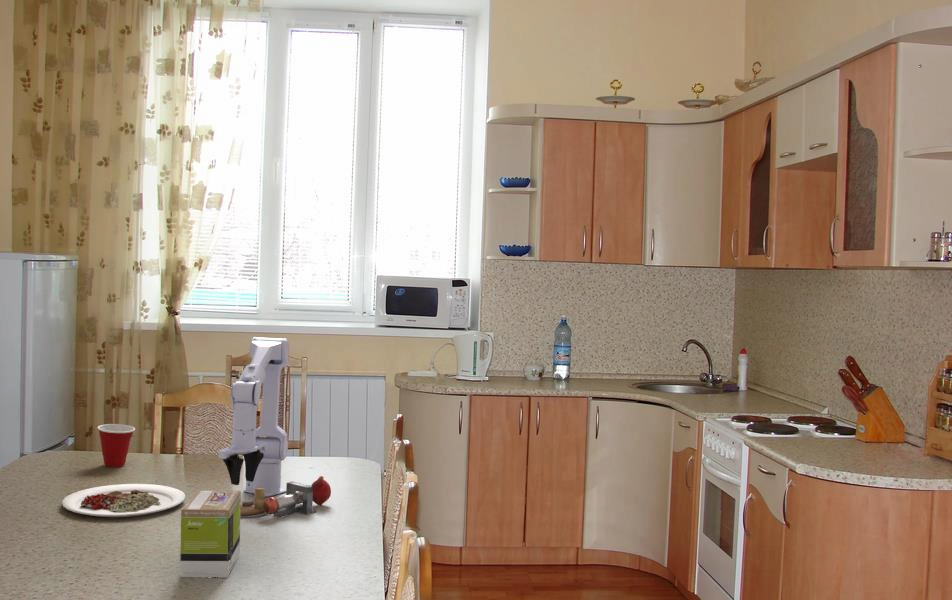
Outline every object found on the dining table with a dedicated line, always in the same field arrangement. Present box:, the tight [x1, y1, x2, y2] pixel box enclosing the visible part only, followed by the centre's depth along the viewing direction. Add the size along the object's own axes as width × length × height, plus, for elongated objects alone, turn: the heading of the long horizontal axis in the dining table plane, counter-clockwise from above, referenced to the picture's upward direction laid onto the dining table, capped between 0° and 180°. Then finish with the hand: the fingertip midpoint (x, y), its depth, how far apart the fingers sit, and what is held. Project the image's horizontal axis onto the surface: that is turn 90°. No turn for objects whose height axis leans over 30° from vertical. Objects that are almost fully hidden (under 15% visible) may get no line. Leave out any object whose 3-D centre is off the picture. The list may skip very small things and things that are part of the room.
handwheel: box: [240, 488, 265, 515], centre depth 236 cm, size 10×10×6 cm
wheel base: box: [240, 512, 268, 519], centre depth 237 cm, size 12×12×1 cm
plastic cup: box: [96, 423, 136, 468], centre depth 279 cm, size 11×11×12 cm
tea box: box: [179, 490, 242, 579], centre depth 195 cm, size 15×10×15 cm, turn 5°
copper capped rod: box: [263, 491, 303, 515], centre depth 236 cm, size 4×13×4 cm, turn 147°
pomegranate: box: [310, 475, 332, 506], centre depth 245 cm, size 6×6×8 cm
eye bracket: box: [273, 481, 317, 518], centre depth 237 cm, size 9×10×7 cm
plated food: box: [61, 483, 186, 518], centre depth 238 cm, size 30×30×3 cm
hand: (242, 482), depth 229 cm, fingers open, 4 cm apart
